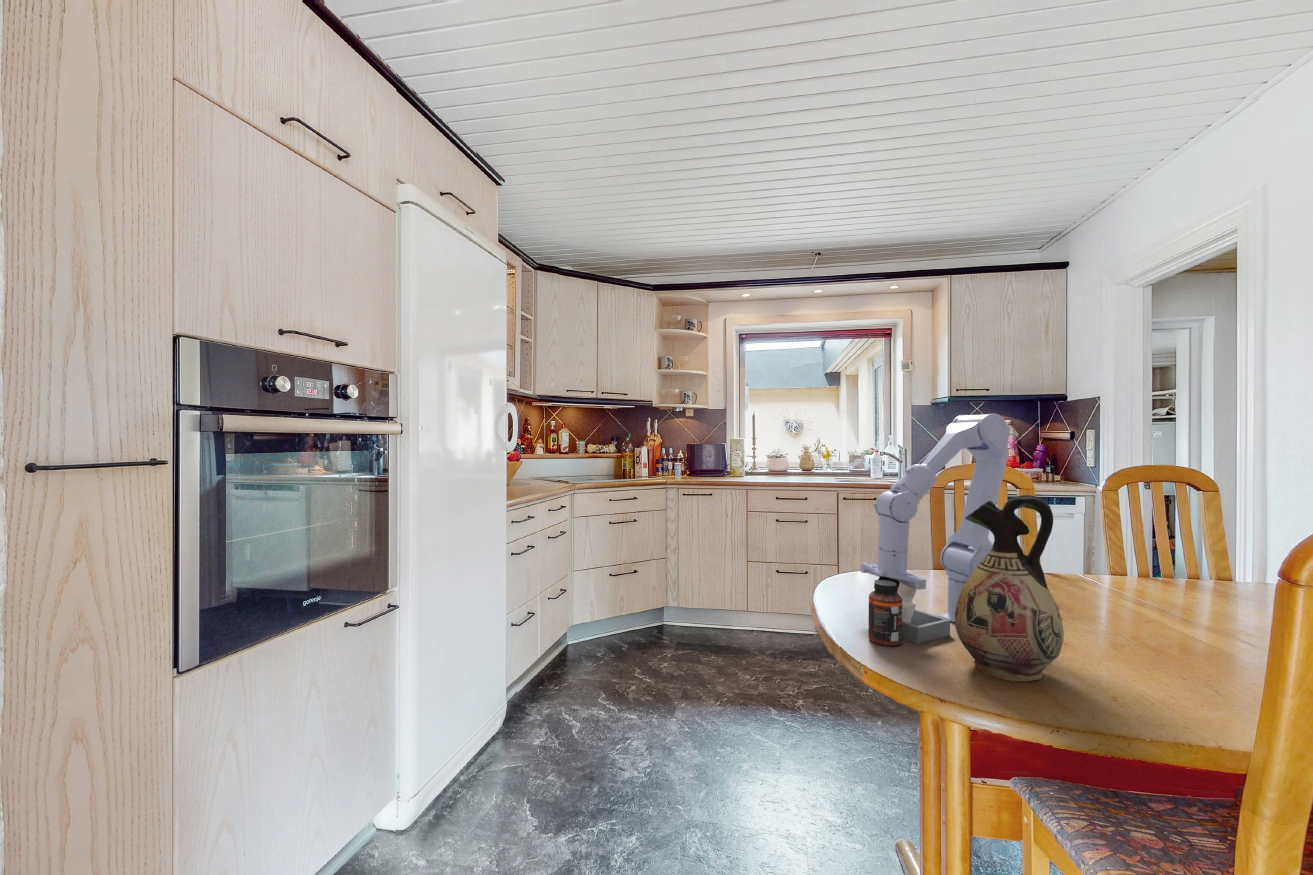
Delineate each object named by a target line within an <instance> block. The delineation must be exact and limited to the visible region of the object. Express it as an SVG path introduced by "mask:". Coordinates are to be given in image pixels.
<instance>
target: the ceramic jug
mask: <svg viewBox="0 0 1313 875" xmlns="http://www.w3.org/2000/svg"><path fill="white" fill-rule="evenodd" d="M1021 508H1025V509H1029V510H1034V511H1035V512H1037V513H1038V514H1039V516H1040V525H1039V529H1038V531H1037V534H1036V538H1035V540H1034V543H1033V544H1032V546H1031V548H1030V550H1029V552H1028V554H1027V555H1025V552H1024V550H1023V549H1022V547H1021V545H1020V543H1019V540H1018V537H1019V536H1025V535H1028V534H1030V529H1029V527H1028V525H1027V524H1025V523H1024V521H1023V520H1022V518H1020V517H1018V516H1017V515H1016V513H1015V511H1016V510H1017V509H1021ZM965 519H967V520H969V521H971V522H973V523H976V524H978V525H980V526H983V527H985V528H987V529H989V530H990V531H989V532H991V533H992V535H993V539H994V541H993V543H992V544H993V547H992V549H991V550H990V552H989V553H988V554H987V555H986V556H985V558H984V559H983V560H982V561H981V562H980V563H979V565H978V566H977V567H976V568H975V570H974V571H973V572H972V574H971V575H970V577H969V578H968V579H967V581H966V582H965V584H964V586H963V588H962V590H961V593H960V595H959V598H958V602H957V606H956V610H955V622H954V624H955V625H954V626H955V629H956V630H955V631H956V633H957V636H958V638H959V640H960V642H961V644H962V645H963V647H964V648H965V649H966V651H967V652H968V654H969V655H970V656H971V657H972V659H973V660H974V661H973V663H974V666H975V667H976V669H978V671H980V672H982V673H984V674H986V675H988V676H991V677H994V678H997V679H1000V680H1005V681H1011V682H1031V681H1037V680H1041V679H1043V676H1044V675H1043V674H1042V671H1043V670H1045V669H1046V668H1047V667H1048V666H1049V665H1050V664H1051V663H1052V662H1054V661H1055V660H1056V659H1057V658H1059V657H1060V654H1061V652H1062V648H1063V644H1064V639H1065V638H1064V637H1065V636H1064V635H1065V633H1064V632H1065V630H1064V626H1063V625H1064V624H1063V618H1062V615H1061V612H1060V608H1059V607H1058V604H1057V603H1056V601H1055V599H1054V596H1053V595H1052V592H1051V591H1050V589H1049V587H1048V584H1047V581H1046V576H1045V573H1044V571H1043V568H1042V565H1041V562H1040V560H1041V557H1042V555H1043V552H1044V550H1045V548H1046V546H1047V543H1048V540H1049V538H1050V536H1051V534H1052V531H1053V527H1054V515H1053V510H1052V508H1051V507H1050V505H1049V503H1048V502H1047V501H1045V500H1044V499H1042V498H1040V497H1038V496H1036V495H1029V494H1026V495H1025V494H1024V495H1017V496H1014V497H1012V498H1010V499H1008V501H1006V503H1004V505H1003V507H1002V509H999V508H998V507H997V504H996V505H995V504H994V503H993V502H992V501H988V502H986V503H985V504H983V505H981V506H980V507H979V508H978V509H976V510H975V511H974V512H972V513H970V514H969V515H968V516H967V517H965Z"/></svg>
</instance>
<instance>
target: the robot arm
mask: <svg viewBox="0 0 1313 875" xmlns="http://www.w3.org/2000/svg"><path fill="white" fill-rule="evenodd" d="M1011 430H1012V429H1011V427H1010V426H1009V425H1008V423H1007V421H1006V420H1005V418H1004V417H1003V416H1002V415H1000V414H998V413H993V412H992V413H988V414H969V415H968V414H960V415H957V416H956V417H955V418H954V419H953V420H952V422H951V423H949V424H948V425H947V426H946V432H945V434H944V435H943V436H942V437H941V439H940V440H939V441H938V442H937V444H936V445H935V446H934V447H933V449H932V450H931V451H930V452H929V453H928V455H927V456H926V457H925V459H924V460H923V461H922V463H920V464H919V463H918V464H916V463H915V464H912V465H911V466H907V467H906V468H904V472H905V473H904V474H903V475H902V476H901V477H900V478H899V479H898V480H897V481H896V483H895V484H892V485H891V486H890V490H886V491H883V492H882V493H880V494H879V496H878V497H877V499H876V502H874V503H873V508H874V511H875V513H876V514H877V517H878V519H877V520H878V524H879V525H878V543H877V562H876V564H875V563H871V562H870V563H869V562H860V570H859V572H860V573H863V574H869V575H872V576H875V577H878V579H875V580H874V582H875V581H878V580H885V581H892V582H895V583H896V584H897V590H898V587H899V584H900V582H901V581H904V582H905V583H907V584H909V585H910V586H912V587H915V589H917V590H918V591H919V590H926V589H927V579H926V578H923V577H920V576H918V575H915V574H913V573H910V572H908V559H909V558H908V557H909V554H908V553H909V540H910V539H909V538H910V537H909V536H910V520H911V519H913V518H914V517H916V515H917V513H918V507H919V504H920V502H921V500H922V499H923V498H924V497H925V496H926V494H928V492H929V491H930V490H931V489H932V488H933V487H934V486H935V484H937V474H939V472H940V471H941V470H942V469H943V468H944V467H945V466H946V465H947V464H948V463H949V462H950V461H951V460H952V459H953V458H955V456H956V455H957V454H959V452H961V451H962V450H964V449H965V450H966V451H968V452H969V453H970V454H971V455H972V456H973V458H974V460H975V466H974V469H973V473H972V478H971V482H970V484H969V489H968V494H967V497H966V500H965V505H964V510H963V513H962V517H961V521H960V525H959V528H958V530H957V531H956V532H954V533H953V534H951V535H950V536H949V537H948V540H947V542H946V544H945V546H944V547H943V548H942V549H941V552H940V554H939V555H940V556H939V561H940V565H941V566H942V567H943V569H944V570H945V575H946V576H947V612H946V613H941V614H938V615H937V616H939V617H942V618H945V619H948V620H950V622H951V623H955V610H956V606H957V602H958V598H959V595H960V593H961V590H962V588H963V586H964V584H965V582H966V581H967V579H968V578H969V577H970V575H971V574H972V572H973V571H974V570H975V568H976V567H977V566H978V565H979V563H980V562H981V561H982V560H983V559H984V558H985V556H986V555H987V554H988V553H989V552H990V550H991V549H992V547H993V543H992V542H991V540H990V539H989V535H990V532H991V531H990V530H989V529H987V528H985V527H983V526H980V525H978V524H976V523H973V522H971V521H969V520H967V519H965V517H967V516H968V515H969V514H970V513H972V512H974V511H975V510H976V509H978V508H979V507H980V506H981V505H983V504H985V503H986V502H988V501H992V502H993V503H994V504H995V505H996V506H997V503H998V499H999V495H1000V491H1001V487H1002V483H1003V479H1004V476H1005V471H1006V467H1007V464H1008V458H1009V452H1008V441H1009V438H1010V434H1011ZM970 547H971V548H970Z"/></svg>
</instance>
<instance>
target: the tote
mask: <svg viewBox="0 0 1313 875" xmlns="http://www.w3.org/2000/svg"><path fill="white" fill-rule="evenodd" d="M948 636H951V621H950V620H948V619H945V618H942V617H939V616H938V615H935V614H932V613H929V612H926V611H923V610H920V609H916V608H915V610H914V612H913V615H912V618H911V621H910V623H907V622H904V621H902V639H904V640H907V641H910V642H911V643H912V642H913V643H914V644H917V645H919V644H924V643H926V642H930V641H934V640H939V639H941V638H945V637H948Z"/></svg>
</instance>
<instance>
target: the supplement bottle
mask: <svg viewBox="0 0 1313 875" xmlns="http://www.w3.org/2000/svg"><path fill="white" fill-rule="evenodd" d="M877 580H878V579H877ZM873 585H874V586H873V589H874V590H872V591H871V592H870V593H869V594H868V632H867V633H868V639H869V641H871V642H873V643H874V644H876V645H880V646H881V645H882V646H884V647H885V646H886V647H895V646H899V645H901V643H902V641H903V640H902V639H903V638H902V598H901V596H900V595H899V594H898V593H897V584H896V583H895V582H892V581H885V580H878V581H875V580H874V582H873Z"/></svg>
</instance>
